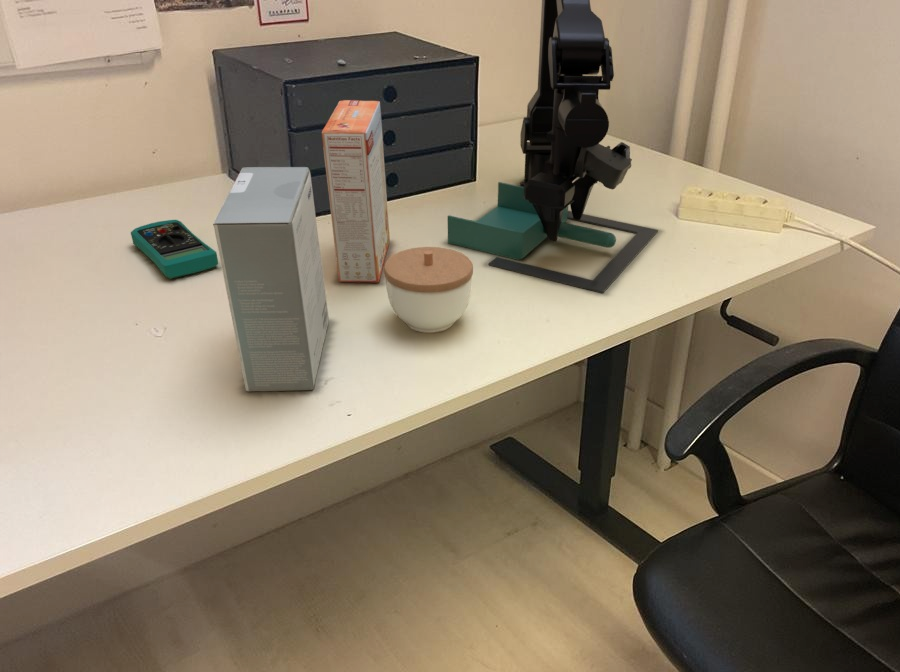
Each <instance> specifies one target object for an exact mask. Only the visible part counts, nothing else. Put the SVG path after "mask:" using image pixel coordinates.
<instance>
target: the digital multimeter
mask: <svg viewBox="0 0 900 672" xmlns="http://www.w3.org/2000/svg"><path fill="white" fill-rule="evenodd" d="M130 236H131V241H132V244H133V245H134V246H135V247H137V248H138V249H139V250H140V251H141V252H142V253H144V255H145V256H147V258H149V260H151V261H152V262H153V263H154V265H155V266H156V267H157V268H158V269H159V270H160V271H161V273H162V274H163V275H164V276H165V277H166V278H168V279H176V278H180V277H183V276H189V275H193V274H196V273H200V272H203V271H207V270H211V269H213V268H216V267H217V266H218V265H219V258H218V253H217V251H216V250H215V249H213V248H212V247H210V246H209V245H208V244H206V243H205V242H204V241H202V240H201V239H200V238H199V237H198V236H196V235H195V234H194V233H193V232H192V231H191V230H190V229H189V228H188V227H187V226H186V225H185V224H184V223H183V222H182V221H180V220H178V219H168V220H161V221H155V222H151V223H147V224H143V225H140V226H138V227H136V228H134V229H132V230H131V231H130Z"/></svg>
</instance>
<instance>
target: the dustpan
mask: <svg viewBox="0 0 900 672" xmlns="http://www.w3.org/2000/svg"><path fill="white" fill-rule="evenodd" d="M497 184H498V185H497V206H496V207H494V208H492V209H491V210H490V211H488V212H487V213H486V214H484V215H483V216H481V217H480V218H478V219H477V220H476V221H475V220H471V219H467V218H464V217H463V218H462V217H457V216H454V215H447V244H451V245H455V246H458V247H463V248H467V249H472V250H476V251H479V252H484V253H487V254H492V255H497V256H500V257H503V258H508V259H513V260H517V261H521V260H522V259H524V258H525V257H526V256H527V255H529V253H531V252H532V251H533V250H534V249H535V248H537V247H538V246H539V245H540V244H541V243H542V242H544V241H546V239H548V236H547V234H546V232H545V230H544V227H543V225H542V223H541V220H540V218H539V216H538V214H537V212H536V210H535V209H534V207H533V205H532V203H529V202H528V200H525V199H524V198H523V195H524V186H520V185H515V184H510V183H507V182H502V181H499V182H498V183H497ZM568 211H569V206H568V207H566V208H565V209H564V211H563V215H562V220H561V225H560V230H559V234H558V237H559V238H563V239H567V240H572V241H576V242H581V243H585V244H589V245H594V246H598V247H602V248H608V249H609V248H612V247H614V246H615V244H617V243H616V242H617V237H616V236H615V234H614V233H612V232H609V231H604V230H601V229H600V230H599V229H595V228H591V227H588V226H587V227H586V226H582V225H577V224H572V223H568V222H567V221H568V219H567V217H568Z"/></svg>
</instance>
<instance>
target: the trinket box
mask: <svg viewBox="0 0 900 672" xmlns="http://www.w3.org/2000/svg"><path fill="white" fill-rule="evenodd" d="M383 273H384V277H385V286H386V293H387V298H388V301H389V303H390V307H391V308H392V310H393V312H394V313H395V314H396V316H397V317H398V318H399V319H400V320H401V321H402V322H404V323H406V325H407V327H408V328H409V329H411V330H414V331H416V332H418V333H425V334H427V333H428V334H429V333H430V334H433V333H439V332H444V331H446V330H448V329H450V328H452V327H453V325H454V324H455V322H456V321H458V320H459V318H461V317H462V316H463V314H464V313H465V311H466V309H467V308H468V305H469V302H470V300H471V299H470V298H471V295H472V289H473V287H472V286H473V274H474V263H473V262H472V260H471V259H470V257H468V256H467V255H465V254H464V253H462V252H460V251H457V250H454V249H451V248H446V247H438V246H421V247H413V248H408V249H405V250H401V251H398V252H396V253H394V254H392V255H391V256H389V258H387V260H386V261H385V262H384V264H383Z"/></svg>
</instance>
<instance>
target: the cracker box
mask: <svg viewBox="0 0 900 672" xmlns="http://www.w3.org/2000/svg"><path fill="white" fill-rule="evenodd" d="M381 111H382V110H381V102H380V101H379V100H358V99H343V100H339V101H338V102H337V105H336V107H335V108H334V110H333V111H332V113H331V115H330V117H329V119H328V120H327V122H326V124H325V126H324V127H323V129H322V131H321V139H322V140H321V141H322V148H323V157H324V167H325V174H326V182H327V191H328V199H329V210H330V217H331V226H332V234H333V243H334V245H333V246H334V252H335V259H336V269H337V270H336V271H337V279H338V283H379V282H380V279H381V276H382V271H383V269H384V265H385V260H386V256H387V253H388V248H389V245H390V237H391V236H390V225H389V222H390V221H389V209H388V197H387V181H386V169H385V168H386V167H385V155H384V153H385V152H384V140H383V139H384V137H383V123H382V112H381Z"/></svg>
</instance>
